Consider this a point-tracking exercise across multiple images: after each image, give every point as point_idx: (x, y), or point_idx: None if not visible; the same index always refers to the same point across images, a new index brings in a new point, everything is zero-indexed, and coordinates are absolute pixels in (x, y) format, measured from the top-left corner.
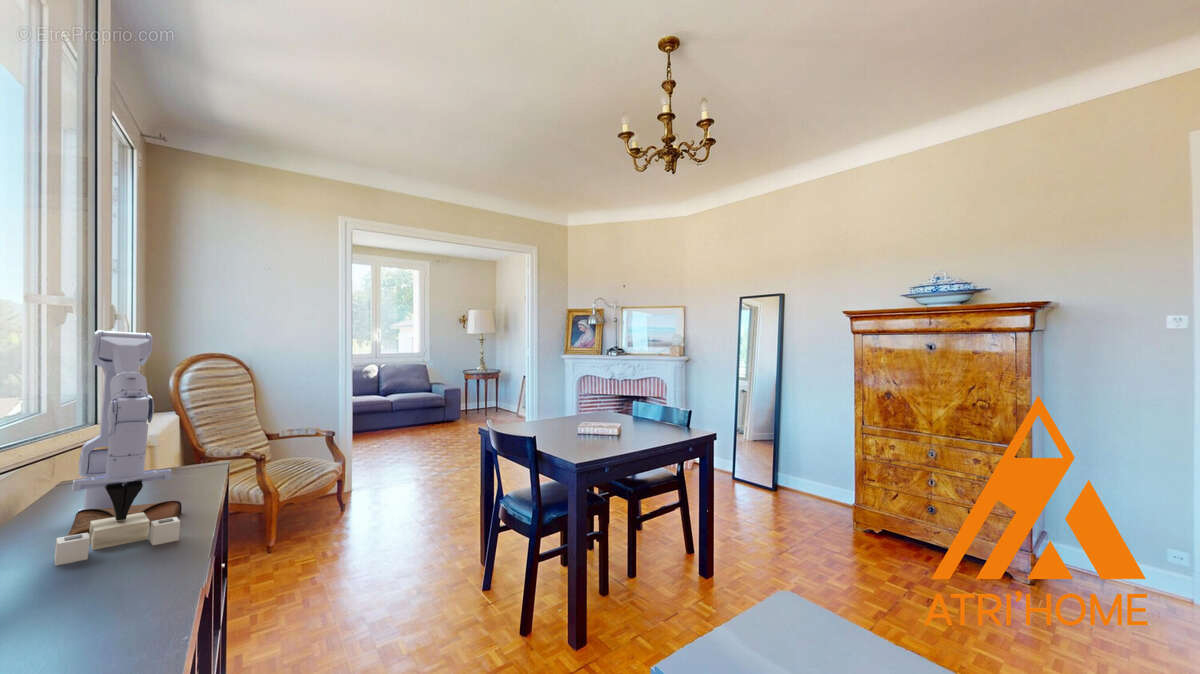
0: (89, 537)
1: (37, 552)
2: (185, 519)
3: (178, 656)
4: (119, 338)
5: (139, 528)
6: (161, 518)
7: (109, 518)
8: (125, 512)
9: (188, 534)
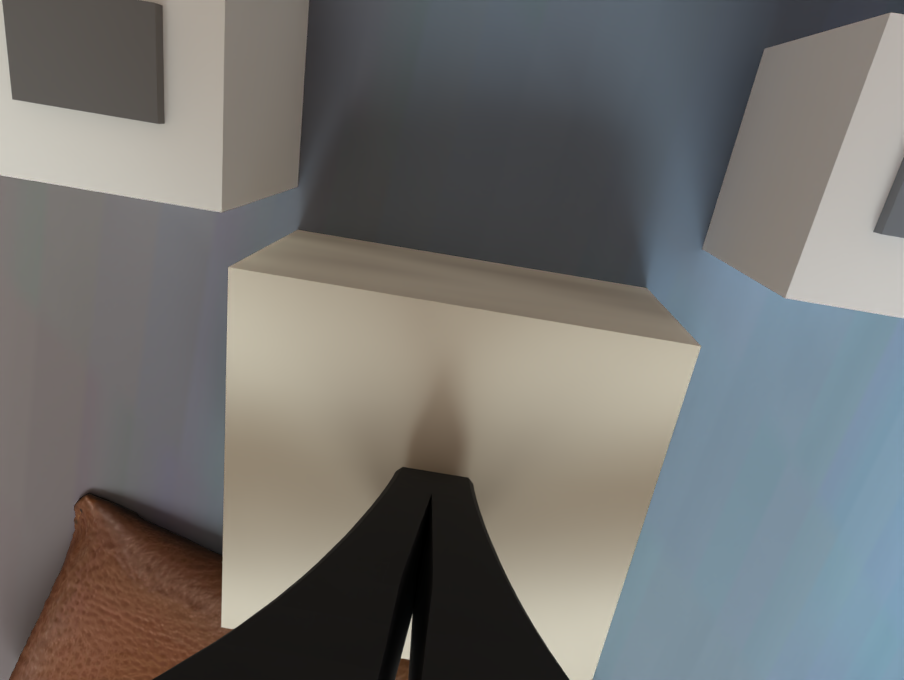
0: (875, 56)
1: (856, 530)
2: (15, 515)
3: None
4: None
5: (334, 267)
6: (138, 573)
7: None
8: (398, 504)
9: None
